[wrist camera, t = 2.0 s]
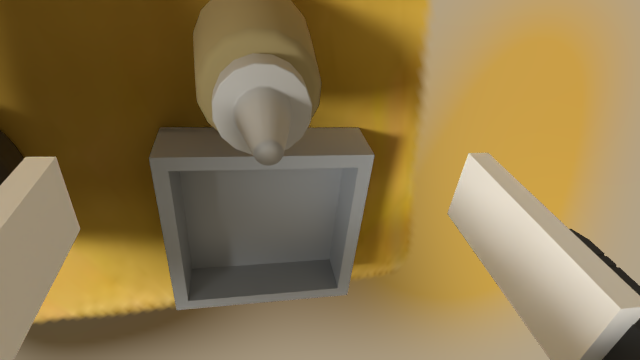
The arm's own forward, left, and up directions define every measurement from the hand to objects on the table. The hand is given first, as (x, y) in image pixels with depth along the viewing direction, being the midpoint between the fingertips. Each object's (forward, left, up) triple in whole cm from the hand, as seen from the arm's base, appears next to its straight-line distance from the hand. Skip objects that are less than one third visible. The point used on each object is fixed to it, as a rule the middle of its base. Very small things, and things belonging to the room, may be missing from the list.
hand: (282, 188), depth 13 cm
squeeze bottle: (0, 0, -21) cm, 21 cm away
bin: (+1, -16, -20) cm, 26 cm away
